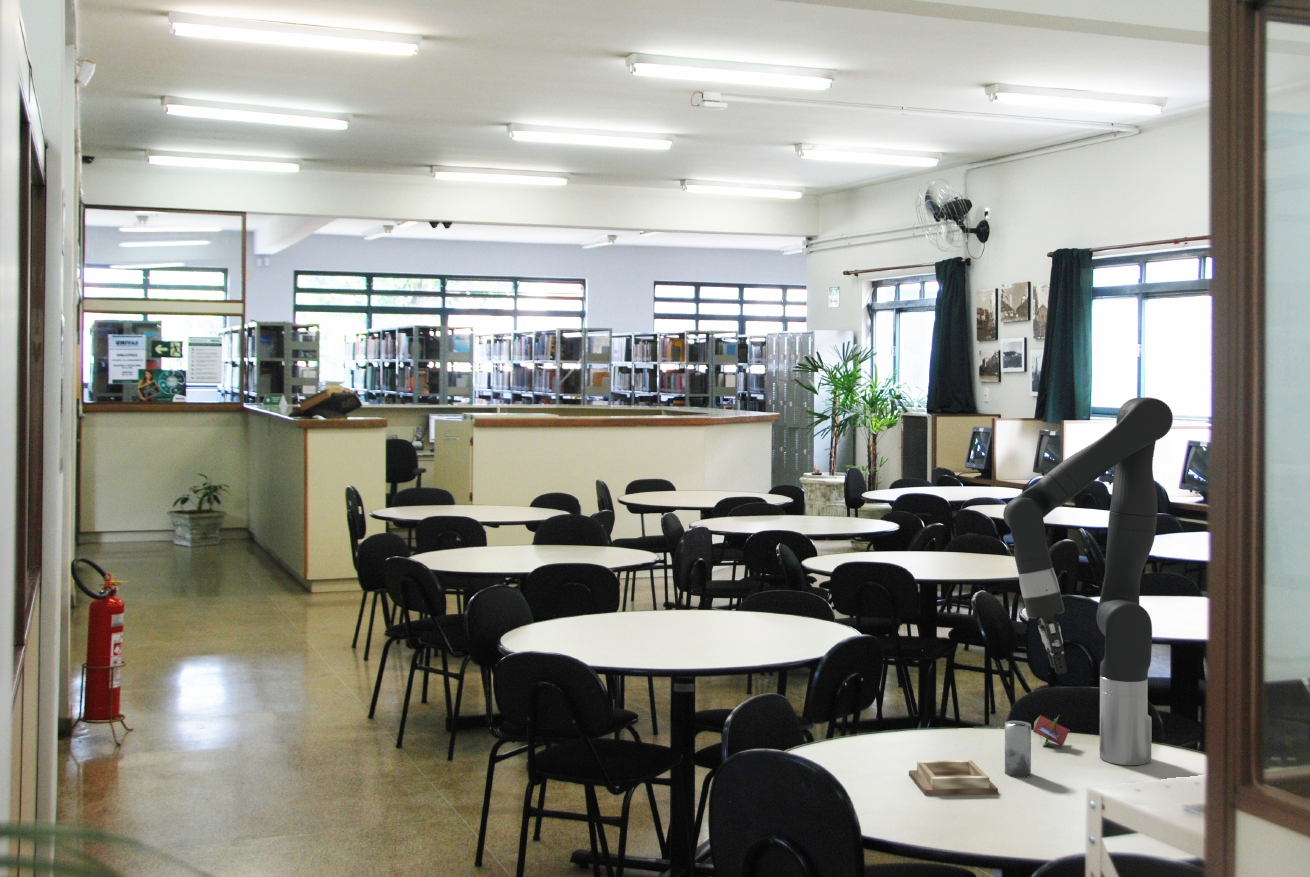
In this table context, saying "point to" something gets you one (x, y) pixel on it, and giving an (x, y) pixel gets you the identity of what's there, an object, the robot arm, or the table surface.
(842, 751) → the table surface
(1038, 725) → the geometric puzzle
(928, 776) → the wooden tray
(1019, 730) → the steel tube
